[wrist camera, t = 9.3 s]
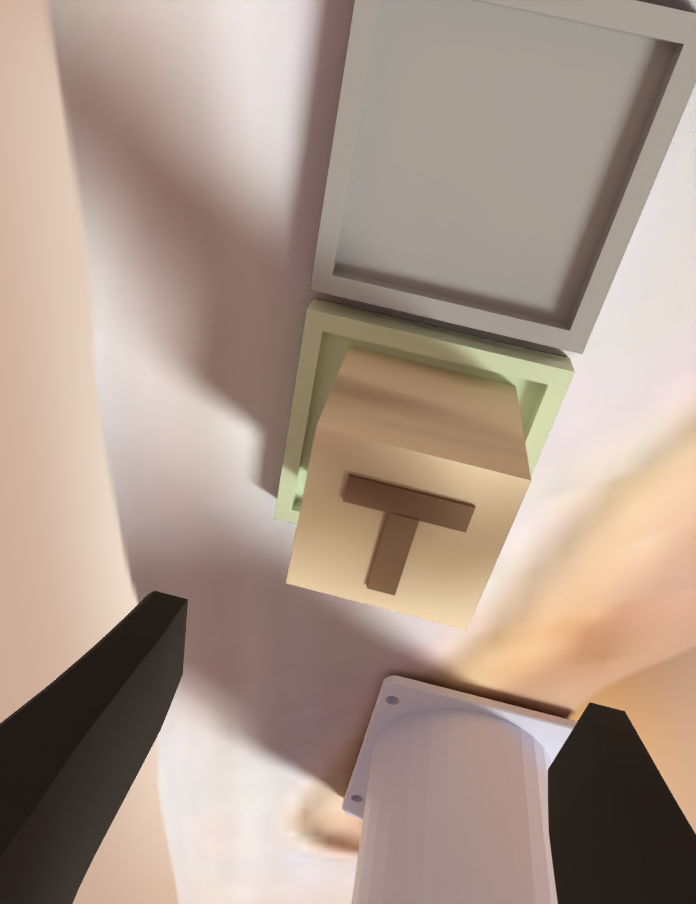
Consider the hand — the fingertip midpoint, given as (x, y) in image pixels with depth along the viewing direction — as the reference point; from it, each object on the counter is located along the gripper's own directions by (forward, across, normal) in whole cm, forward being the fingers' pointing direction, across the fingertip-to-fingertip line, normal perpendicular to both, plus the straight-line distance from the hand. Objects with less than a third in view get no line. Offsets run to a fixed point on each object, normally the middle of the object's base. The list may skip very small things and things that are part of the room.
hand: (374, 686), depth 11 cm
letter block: (+8, 0, 0) cm, 9 cm away
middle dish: (+9, 0, -8) cm, 12 cm away
